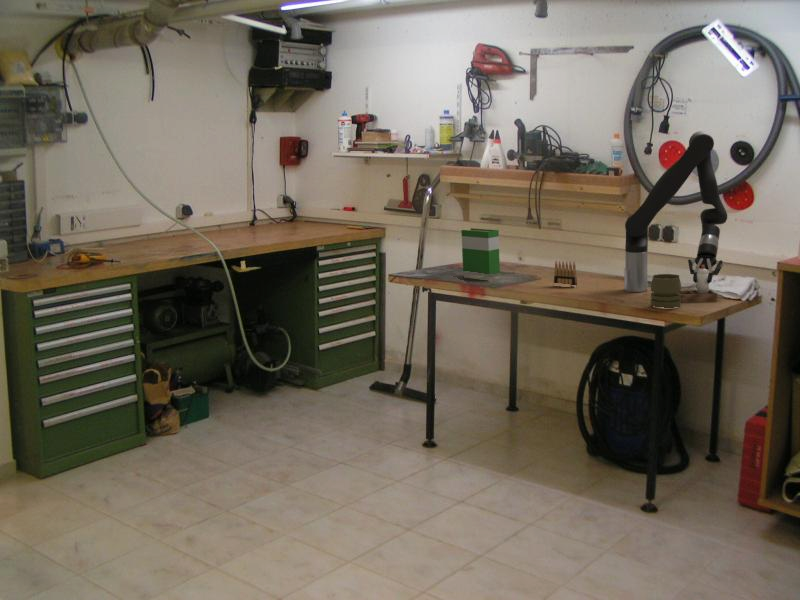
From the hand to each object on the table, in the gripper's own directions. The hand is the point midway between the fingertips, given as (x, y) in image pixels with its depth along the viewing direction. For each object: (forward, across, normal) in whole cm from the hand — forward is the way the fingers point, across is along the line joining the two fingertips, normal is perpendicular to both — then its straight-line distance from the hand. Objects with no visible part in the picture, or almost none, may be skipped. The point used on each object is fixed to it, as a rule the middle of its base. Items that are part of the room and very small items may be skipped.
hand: (702, 281), depth 347 cm
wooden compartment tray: (+5, -4, +5) cm, 8 cm away
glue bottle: (+2, 0, +5) cm, 6 cm away
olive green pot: (+16, -11, -5) cm, 20 cm away
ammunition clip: (-5, -62, +16) cm, 64 cm away
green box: (-12, -109, +24) cm, 112 cm away
